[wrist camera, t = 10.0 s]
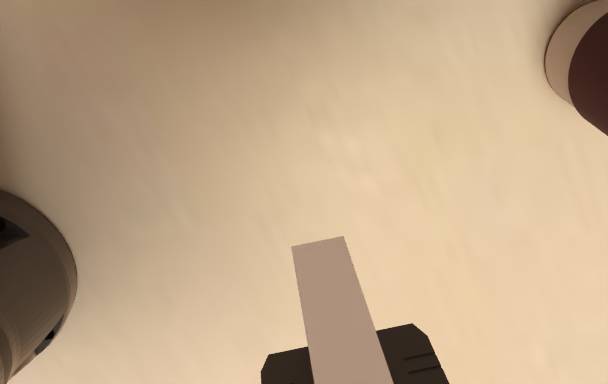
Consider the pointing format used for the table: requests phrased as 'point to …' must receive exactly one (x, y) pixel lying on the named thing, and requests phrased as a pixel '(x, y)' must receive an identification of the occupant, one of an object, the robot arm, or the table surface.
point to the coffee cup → (582, 62)
